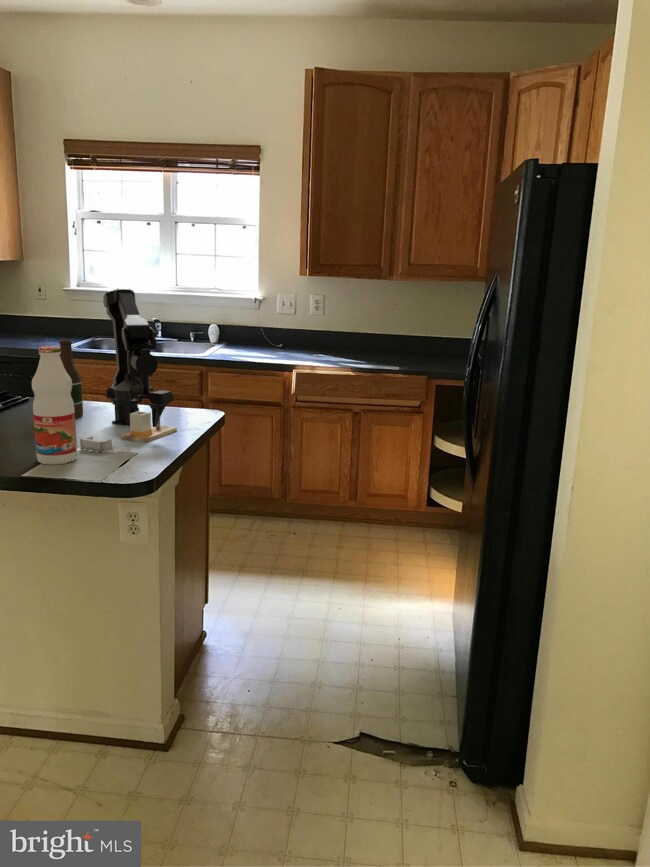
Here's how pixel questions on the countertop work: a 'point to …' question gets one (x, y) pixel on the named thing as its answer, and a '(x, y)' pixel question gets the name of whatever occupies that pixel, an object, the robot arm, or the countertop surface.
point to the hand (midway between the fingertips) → (140, 425)
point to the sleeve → (140, 423)
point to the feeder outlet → (95, 444)
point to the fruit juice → (53, 410)
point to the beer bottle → (72, 375)
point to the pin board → (156, 433)
